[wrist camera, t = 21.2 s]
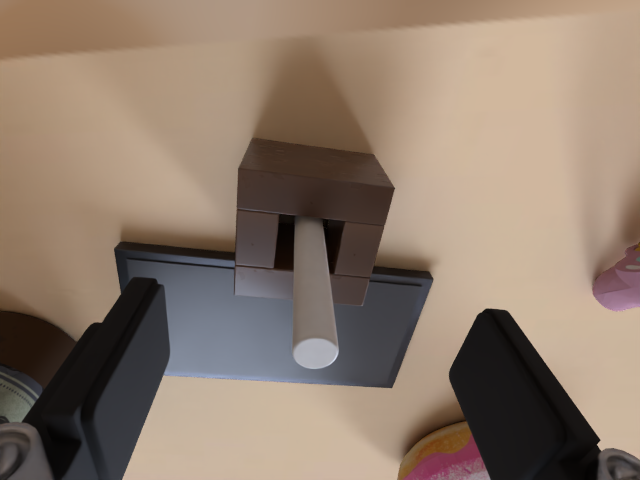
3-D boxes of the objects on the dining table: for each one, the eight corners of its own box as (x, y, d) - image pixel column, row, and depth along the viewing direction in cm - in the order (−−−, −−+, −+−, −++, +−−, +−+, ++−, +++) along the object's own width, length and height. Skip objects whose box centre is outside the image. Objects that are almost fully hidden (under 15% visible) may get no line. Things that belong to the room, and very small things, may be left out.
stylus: (296, 183, 20) (294, 335, 10) (320, 185, 21) (342, 338, 10) (294, 204, 21) (289, 368, 11) (317, 207, 21) (334, 371, 11)
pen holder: (251, 137, 19) (237, 168, 15) (374, 154, 20) (395, 188, 16) (245, 245, 22) (233, 295, 18) (351, 256, 23) (363, 306, 19)
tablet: (120, 241, 22) (112, 249, 21) (429, 271, 24) (434, 280, 23) (138, 364, 27) (133, 375, 26) (389, 379, 30) (392, 389, 29)
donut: (556, 438, 35) (592, 495, 31) (456, 497, 40) (475, 552, 36) (467, 391, 31) (494, 449, 27) (367, 463, 36) (377, 522, 32)
